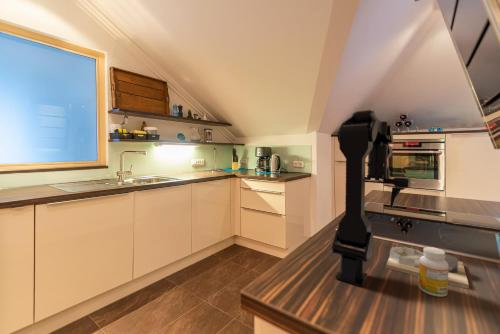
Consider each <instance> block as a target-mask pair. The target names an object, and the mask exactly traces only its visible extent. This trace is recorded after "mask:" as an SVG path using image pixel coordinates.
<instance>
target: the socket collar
mask: <svg viewBox="0 0 500 334" xmlns="http://www.w3.org/2000/svg"><path fill="white" fill-rule="evenodd" d="M401 254H404V255H409V256H413V257H416V258H409V257H405V256H401ZM422 256H424V254H423V251H421V250H418V249H415V248H411V247H407V246H395V247H393V246H392V247H391V248H390V250H389V257H390V258H391V259H392V260H394V261H396V262H397V263H399V264H403V265H407V266H411V267H419V261H420V257H422Z"/></svg>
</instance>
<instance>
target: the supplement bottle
mask: <svg viewBox="0 0 500 334" xmlns="http://www.w3.org/2000/svg"><path fill="white" fill-rule="evenodd" d="M422 253H423V254H424V256H422V257H420V261H419V276H418V288H419V289H420V290H421V291H422V292H424V293H426V294H428V295H430V296H434V297H442V298H443V297H446V296H447V295H448V288H449V284H448V270H449V266H448V263H447V262H446V261H445V260H444V259H445V254H446V251H444V250H442V249H440V248H437V247H432V246H425V247H424V248H423V251H422Z"/></svg>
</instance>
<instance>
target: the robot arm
mask: <svg viewBox="0 0 500 334" xmlns="http://www.w3.org/2000/svg"><path fill="white" fill-rule="evenodd" d="M336 136H337V138H336V139H337V141H338V145H339V150H340V152H341V154H342V155H343V157H344V158H345V205H344V206H345V212H344V213H345V214H344V215H343V217H342V218H341V220H340V221H339V222H338V227H337V229H336V231H335V234H334V237H333V243H332V246H331V250H332V253H333V254H337V255H339V270H338V272H337V273H336V274H335V279H337V280H339V281H342V282H344V283H349V284H352V285H355V286H356V287H357V286H359V287H363V286H364V284H365V282H366V280H367V278H368V273H365V263H368V261H369V260H370V259H371V257H372V255H373V244H374V233H373V232H372V220H371V219H370V218H368V217H367V216H366V214H365V208H366V207H365V204H366V203H365V199H366V183H372V184H373V183H374V184H386V185H387V184H388V185H394V186H392V188H391V194H390V208H393V207H394V205H395V202H396V199H397V198H398V196H399V194H400V192H402V191H404V190H406V188H410V187H411V185H412V179H411V178H410V176H409V177H408V176H406V177H405V176H395V177H393V178H390V177H391V170H390V169H389V167H388V159H389V158H390V157H392V155H393V153H394V151H393V148H392V146H391V144H392V143H394V134H393V125H391V124H390V121H381V120H380V119H379V118H378V117H377V116H376V114H375V110H371V109H367V110H359V111H356V112H353V113H352V116H350V117H349V118H347V119H346V120H345V121H343V122H342V123H341V125H340V126H339V129H338V130H337V135H336ZM389 143H391V144H389ZM366 158H367V161H368V162H367V163H366ZM366 165H367V175H366ZM347 246H348V247H347ZM360 249H361V250H360Z"/></svg>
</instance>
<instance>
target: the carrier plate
mask: <svg viewBox="0 0 500 334" xmlns="http://www.w3.org/2000/svg"><path fill="white" fill-rule="evenodd" d="M401 256H405V257H409V258H416V257H413V256H409V255H404V254H401ZM385 264H386V265H385V266H386V269H389V270H393V271H397V272H401V273H405V274H408V275H412V276H416V277H419V267H411V266H407V265H403V264H399V263H397V262H396V261H394V260H392V259H391V258H390V256H388V259H387V262H386V263H385ZM448 285H452V286H455V287H459V288H463V289H467V290H468V289H469V286H470V284H469V280H468V278H467V273H466V271H465V267H464V263H463V261H459V260H458V272H456V273H449V272H448Z"/></svg>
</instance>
